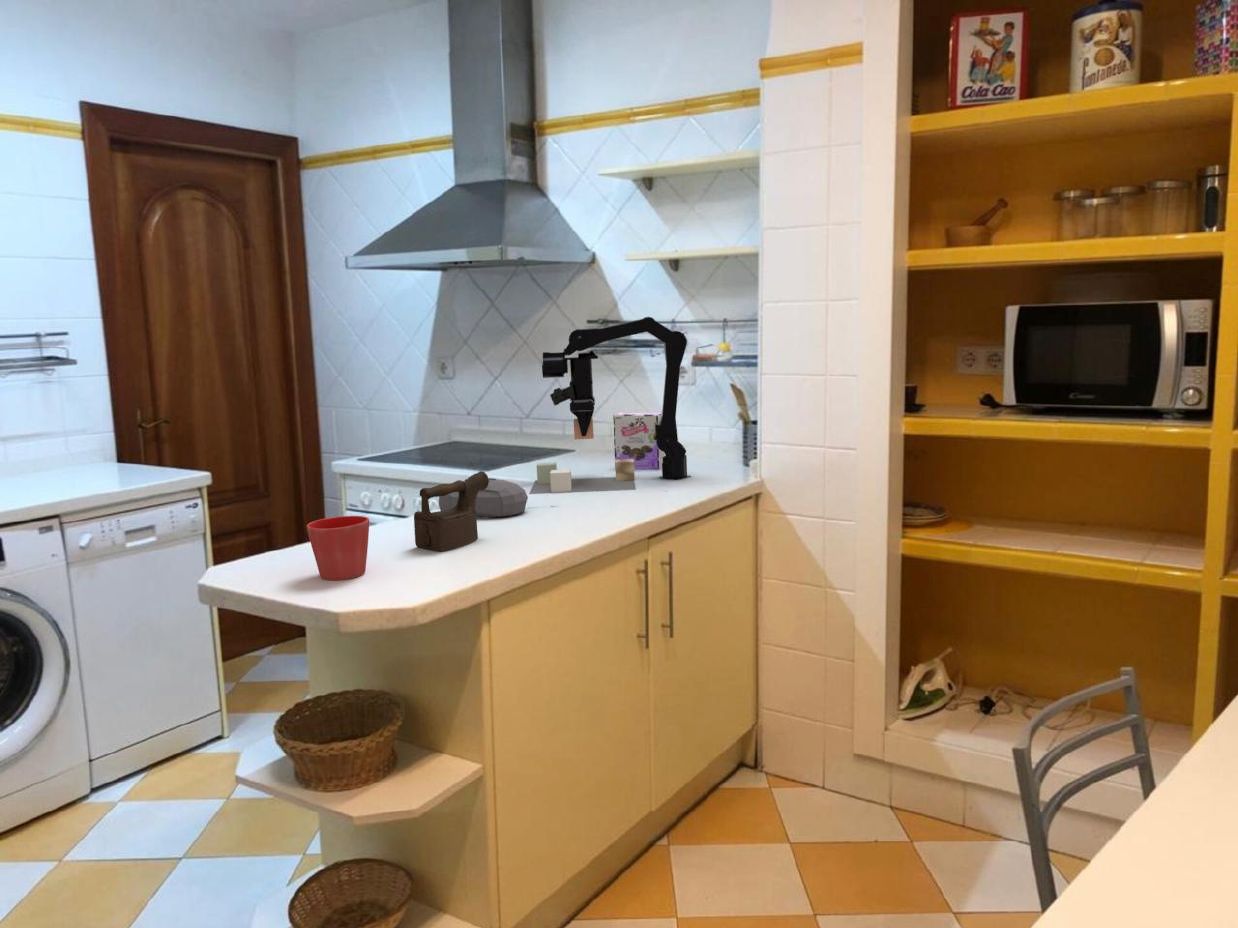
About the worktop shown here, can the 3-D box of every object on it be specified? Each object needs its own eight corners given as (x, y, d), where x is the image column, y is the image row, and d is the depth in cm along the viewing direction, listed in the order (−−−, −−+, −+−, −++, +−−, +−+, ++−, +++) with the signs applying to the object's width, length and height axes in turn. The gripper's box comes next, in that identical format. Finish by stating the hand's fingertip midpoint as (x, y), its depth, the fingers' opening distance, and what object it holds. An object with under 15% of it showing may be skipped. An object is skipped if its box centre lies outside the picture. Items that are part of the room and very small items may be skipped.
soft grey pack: (432, 518, 219) (511, 521, 212) (429, 482, 217) (509, 484, 211) (464, 506, 233) (539, 508, 226) (462, 472, 232) (537, 473, 225)
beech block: (634, 477, 261) (633, 459, 261) (634, 480, 256) (633, 461, 256) (615, 478, 261) (615, 459, 261) (615, 480, 256) (615, 462, 256)
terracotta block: (593, 436, 260) (592, 418, 259) (593, 438, 255) (592, 419, 254) (575, 437, 260) (574, 418, 259) (574, 439, 255) (573, 420, 254)
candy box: (614, 470, 278) (612, 414, 276) (621, 467, 283) (619, 412, 281) (659, 471, 273) (657, 414, 270) (666, 468, 278) (664, 412, 276)
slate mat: (633, 478, 263) (633, 476, 263) (635, 491, 242) (635, 489, 242) (535, 482, 263) (535, 480, 263) (529, 495, 242) (528, 493, 242)
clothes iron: (500, 537, 196) (496, 472, 194) (437, 553, 184) (433, 484, 182) (475, 533, 201) (471, 469, 199) (412, 548, 189) (408, 481, 187)
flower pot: (297, 581, 167) (292, 526, 166) (337, 565, 177) (332, 514, 176) (348, 585, 163) (343, 529, 162) (385, 568, 173) (381, 516, 172)
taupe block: (571, 488, 247) (570, 469, 247) (570, 491, 243) (569, 472, 242) (552, 489, 247) (551, 470, 247) (551, 492, 242) (550, 473, 242)
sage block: (557, 480, 261) (556, 462, 261) (556, 483, 256) (555, 464, 256) (538, 481, 261) (537, 462, 261) (537, 484, 256) (536, 465, 256)
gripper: (553, 375, 264) (556, 432, 266) (548, 379, 245) (552, 440, 248) (593, 374, 264) (596, 430, 266) (592, 378, 246) (595, 438, 248)
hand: (584, 434), depth 257 cm, fingers closed on terracotta block, 5 cm apart
